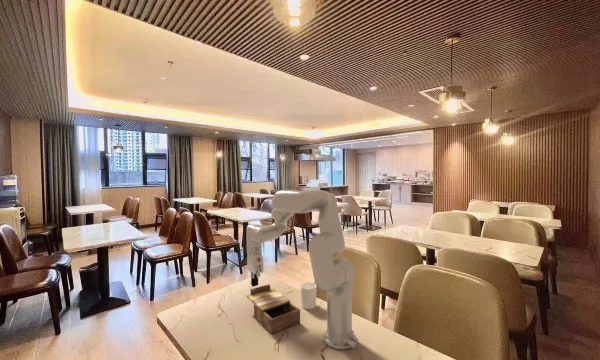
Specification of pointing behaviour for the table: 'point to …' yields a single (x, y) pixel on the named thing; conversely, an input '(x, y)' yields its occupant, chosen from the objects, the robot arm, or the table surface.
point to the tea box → (278, 317)
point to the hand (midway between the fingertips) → (254, 285)
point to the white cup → (308, 295)
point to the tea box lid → (266, 297)
